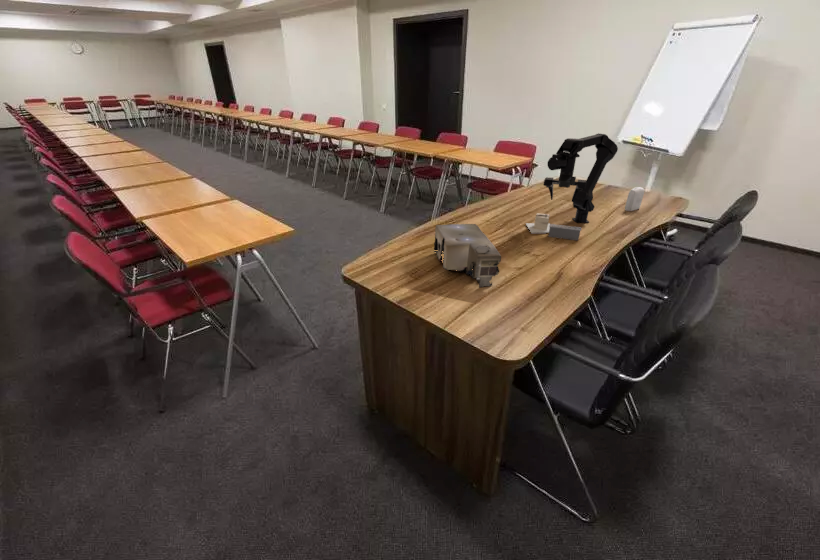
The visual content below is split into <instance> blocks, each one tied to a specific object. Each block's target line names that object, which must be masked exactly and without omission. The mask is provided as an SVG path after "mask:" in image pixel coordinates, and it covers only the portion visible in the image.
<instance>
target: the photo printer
mask: <svg viewBox="0 0 820 560" xmlns="http://www.w3.org/2000/svg"><path fill="white" fill-rule="evenodd" d="M644 194H645V188H644V187H642V186H635V187H633V188H631V189H630V191H629V192H628V194H627V199H626V202H625V206H624V210H625V211H627V212H633V211H636V210H639V209H640V208H641V205H642V201H643V198H644Z"/></svg>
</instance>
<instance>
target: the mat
mask: <svg viewBox="0 0 820 560" xmlns="http://www.w3.org/2000/svg"><path fill="white" fill-rule="evenodd" d="M534 223H535V222H531V223H530V222H529V223H527V222H526V223H525V224H526V225H525V227H526V226H527V227H528V228H527V227H526V228H527V230H528V229H529V230H530V231H529V230H528V231H529V232H531V233H530V234H546V233H549V230H550V227H549V225H550V224H551V223H550V222H548V227H547V230H540V229H534Z"/></svg>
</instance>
